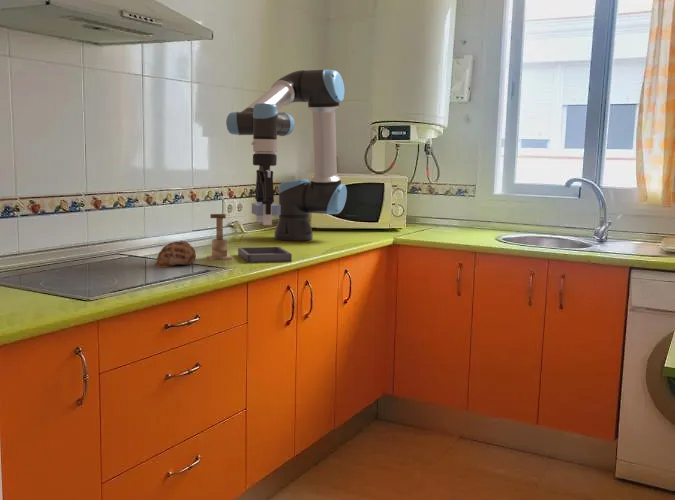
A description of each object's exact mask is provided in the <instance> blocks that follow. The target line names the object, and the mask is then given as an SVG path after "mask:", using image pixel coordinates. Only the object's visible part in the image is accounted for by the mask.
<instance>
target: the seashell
mask: <svg viewBox="0 0 675 500" xmlns="http://www.w3.org/2000/svg"><path fill="white" fill-rule="evenodd" d="M196 259H197V253H196V251H195V249H194V247H193V246H192V245H191V244H190V243H189V242H188V241H185V240H180V241H173V242H169V243H168V244H166V245H165V246H163V247H162V249H160V251H159V252H158V255H157V257H156V262H155V265H154V266H155V267H162V268H163V267H165V268H167V267H169V268H170V267H173V266H176V265H182V266H190V265H192V264H194V262H195V260H196Z"/></svg>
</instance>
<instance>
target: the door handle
mask: <svg viewBox="0 0 675 500" xmlns="http://www.w3.org/2000/svg"><path fill="white" fill-rule="evenodd" d="M210 219H216V221H215V223H216V235H215V236H216V238H214V239H211V253H210V254H207V256H206V257H207V259H208V260H209V261H227V260H228V261H229V260H230V261H232V260H233V256H232V255H230V254H229V253H228V239H226V238H224V236H223V235H224V232H223V231H224V230H223V229H224V219H226V213H214V214H213V213H210Z"/></svg>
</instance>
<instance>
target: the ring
mask: <svg viewBox="0 0 675 500" xmlns="http://www.w3.org/2000/svg"><path fill="white" fill-rule="evenodd" d="M280 211H281V205H279V204H275V203H272V217H273V216H274V217H275V216H276V217H277V216H279V215H280ZM251 214H253V215H255V216H263V204H262V203H257V202H256V203H251Z"/></svg>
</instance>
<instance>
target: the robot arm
mask: <svg viewBox="0 0 675 500" xmlns="http://www.w3.org/2000/svg"><path fill="white" fill-rule="evenodd" d="M345 92H346V91H345V85H344V81H343V77H342V75H341V74H340V72H338V71H337V70H335V69H327V68H326V69H310V70H304V69H303V70H300V69H299V70H296V71H293V72H290V73H288V74H286V75H283V76H282V77H280V78H279V79H277V80H276V81H275V82H274V83H273V84H272V85H271V88H270V89H269V90H267V92H265V93H264V94H262V95H261V96H260V97H259V98H257V99H256V100H255V101H253V102H252V103H251V104H249V106H247V107H246V108H245V109H243V110H242V111H234V112H229V113H228V114H227V117H226V121H225V123H226V129H227V131H228V133H229V134H231V135H236V136H237V135H238V136H252V139H253V140H252V142H251V146H252V150H253V151H252V152H254V153H253V154H252V165H253V166H259V167H258V169H256V181H255V193H254V195H255V197H254V198H255V200H256V203H262V204H263V216H257V215H255V216H256V217H255V218H256V223H262V226H272V225H273V216H272V204H274V202H275V198H274V171H273V170H271V167H275V166H277V164H278V163H277V161H278V157H277V154H276V153H277V152H278V138H277V137H278V136H279V137H286V136H288V135H290V134H292V133H293V131H294V130H295V124H296V123H295V119H294V118H293V116H292V115H290V114H288V113H286V112H280V111H279V110H280V109H282V108H283V107H284V106H290V105H291V104H292V103H307V108H308V109H309V110H310V111H311V112H312V134H313V135H312V138H313V139H312V141H313V165H314V167H313V168H314V169H313V170H314V171H313V173H314V175H313V177H311V179H310V180H309V179H295V180H286V181H282V182H280V184H279V189H278V190H279V191H278V205H281V211H280V215H278V222H277V224H276V228H275V230H274V234H273V235H274V237H273V238H274V239H275V240H278V241H296V242H297V241H299V242H300V241H301V242H302V241H309V240H310V241H311V240H313V235H314V234H313V231H312V227H311V224H310V219H309V214H322V215H323V214H324V215H338V214H340V213H341V212H342V211H343V209H344V208H345V204H346V201H347V198H348V197H347V195H348V190H347V189H348V188H347V186H346V185H345V184H344V183H342V178H341V177H340V176H339V175H338V169H337V167H338V166H337V165H338V164H337V163H338V162H337V129H336V128H337V127H336V124H337V123H336V111H337V110H338V108H339V107H340V103H341V102H343V101H344V100H345Z"/></svg>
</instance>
